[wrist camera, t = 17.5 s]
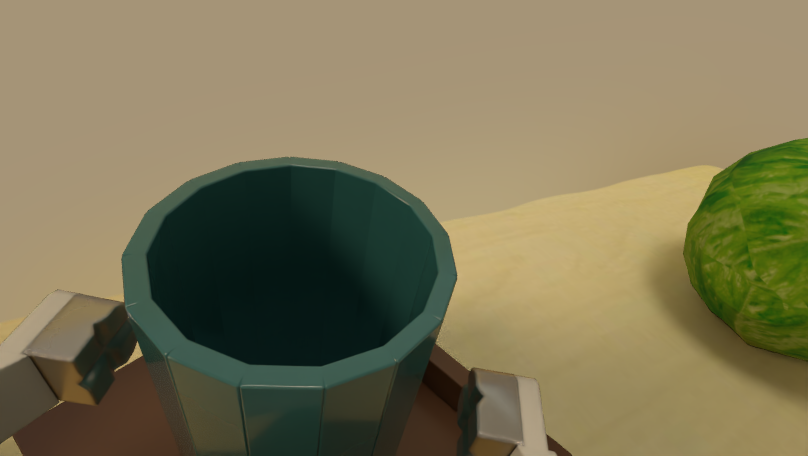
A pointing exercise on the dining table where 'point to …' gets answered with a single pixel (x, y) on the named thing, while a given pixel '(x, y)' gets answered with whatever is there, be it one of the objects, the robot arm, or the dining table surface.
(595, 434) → the dining table surface
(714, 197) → the lettuce
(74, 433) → the shelf
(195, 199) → the cup
